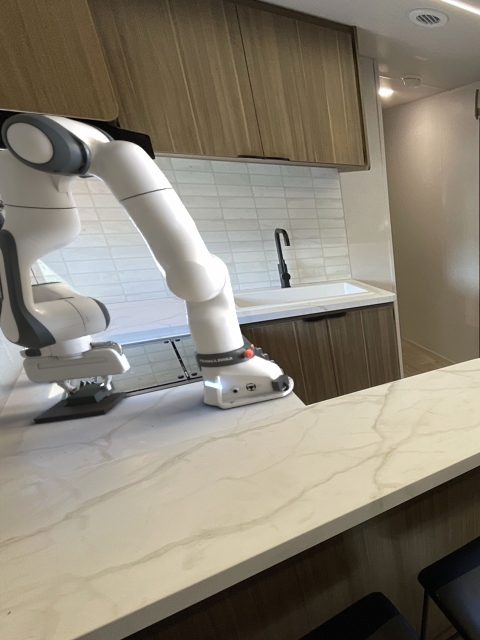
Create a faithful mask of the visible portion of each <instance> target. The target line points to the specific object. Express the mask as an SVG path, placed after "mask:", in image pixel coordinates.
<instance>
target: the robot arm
mask: <svg viewBox="0 0 480 640" xmlns="http://www.w3.org/2000/svg"><path fill="white" fill-rule="evenodd" d="M1 138H2V142H3V143H4V145H5V147H6V148H5V149H1V150H0V199H1V201H2V204H3V207H4V213H5V215H4V216H5V217H4V222H3V225H2V227H1V229H0V331H1V332H2V334H3V335H4V337H5V339H6V340H8V341H9V342H10V343H12V344H13V345H17V346H19V347H23V349H21V350H20V351H19V355H20V356H21V357H22V358H23V361H22V366H23V369H24V372H25V374H26V376H27V378H28V380H29V381H30V382H32V383H33V384H43V383H45V384H46V383H53V382H55V383H56V385H57V386H58V387H60V388H62V389H63V390H64V391H65V392H66V394H67V395H68V396H70V395H72V394H73V393H75V392H76V391H77V390H78V387H77V386H72V385H71V384H69V383H68V382H69V381H71V380H79V379H88V378H97V377H100V378H101V379H102V380H104V382H102V383H103V384H102V385H100V387H101V388H102V391H108V390H110V389H111V385H110V382H112V378H113V376H115V375H124V374H125V373H126V372H128V370H129V369H130V367H131V365H130V362H129V361H128V359H127V357H126V355H125V354H124V350H123V347H122V345H121V344H120V343H118V342H115V341H113V340H106V341H93V339H92V335H96V334H100V333H102V332H105V331H106V330H107V329H108V328H109V326H110V323H111V315H110V312H109V310H108V308H107V306H106V305H105V304H104V303H103V302H102V301H100V300H98V299H96V298H93V297H91V296H85V295H81V294H79V293H77V292H75V291H73V290H71V288H70V287H69V285H67V284H66V283H65V282H62V281H47V282H42V283H35V284H32V279H31V269H32V266H33V265H34V264H35V262H37V261H38V260H39V259H41V258H42V257H45V256H46V255H48V254H50V253H52V252H55V251H57V250H60V249H62V248H65V247H66V246H68V245H70V244H72V243H73V242H74V241H75V240H76V239H77V238H78V237H79V235H80V234H81V230H82V221H81V218H80V214H79V211H78V206H77V204H76V201H75V197H74V195H73V189H72V185H73V184H72V183H73V182H74V180H76V179H77V178H81V179H89V178H97V179H99V180H100V181H101V182H102V183H104V184H105V186H106V187H107V188H108V189H109V190H110V192H111V194H112V195H113V197H115V200H116V201H117V203H118V204H119V205H120V207H121V209H122V210H123V211H124V213H125V214H126V216H127V217H128V219H129V220H130V221H131V222H132V224H133V225H134V227H135V228H136V230H137V232H138V233H139V234H140V236H141V237H142V239H143V241H144V242H145V244H146V246H147V248H148V250H149V252H150V254H151V256H152V258H153V260H154V262H155V264H156V266H157V268H158V269H159V271H160V273H161V274H162V276H163V278H164V281H165V284H166V286H167V288H168V289H169V291H170V292H171V293H172V294H173V295H174V296H176V297H177V298H179V299H181V300H183V301H184V307H185V313H186V325H187V328H188V330H189V331H188V332H189V335H190V338H191V340H192V344H193V347H194V349H195V350H194V357H195V362H196V365H197V368H198V369H199V372H201V377H202V382H203V394H204V395H203V402H204V403H205V404H207V405H209V406H214V407H219V408H221V409H223V410H225V409H226V410H227V409H230V408H234V407H235V408H236V407H240V406H245V405H249V404H255V403H259V402H264V401H268V400H274V399H278V398H279V399H280V398H282V397H285V396H287V395H289V394H290V393H291V392H292V391H293V389H294V380H293V378H292V377H290V376H288V374H283V372H282V370H281V368H280V366H278V364H276V363H275V362H272V361H269V360H267V359H265V358H262V357H260V356H258V355H256V352H255V347H254V344H253V343H252V344H251V345H250V344H247V343H245V342H244V339H243V335H242V332H241V328H240V323H239V320H238V316H237V310H236V304H235V298H234V293H233V288H232V283H231V279H230V273H229V269H228V267H227V265H226V263H225V262H224V261H223V260H222V259H221V258H220V257H219V256H218V255H216V254H213V253H211V252H209V250H208V248H207V246H206V245H205V243H204V240H203V239H202V236H201V234H200V232H199V231H198V228H197V226H196V223H195V221H194V219H193V218H192V216H191V215H190V213H189V212H188V210H187V208H186V206H185V205H184V204H183V202H182V200H181V198H180V197H179V195H178V194H177V192H176V190H175V189H174V187H173V185H172V183H170V182H169V180H168V178H167V177H166V176H165V174H164V172H163V171H162V170H161V169H160V167H159V166H158V165H157V164H156V163H155V161H154V160H153V159H152V158H151V156H150V155H149V154H148V153H147V152H146V151H145V150H144V149H143V148H142V147H141V146H140V145H138V144H136V143H134V142H130V141H126V140H115V139H114V138H113V137H112V136H111V135H110V134H109V133H108V132H106V131H104V130H103V129H102V128H99V127H98V126H96V125H93V124H91V123H89V122H84V121H77V120H74V119H70V118H67V117H63V116H60V115H59V116H58V115H50V114H40V113H32V112H27V113H19V114H15V115H12V116H10V117H9V118H7V119H5V120H4V122H3V124H2V126H1Z"/></svg>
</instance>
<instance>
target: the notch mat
mask: <svg viewBox="0 0 480 640" xmlns="http://www.w3.org/2000/svg"><path fill="white" fill-rule="evenodd" d="M125 397H127V392H126V391H119V392H111V393H109V394H108V395H107V396H106V397H105V398H103V399H102V400H101V401H100V402H98V403H91V404H83V405H75V406H69V405H68V403H67V401H66V398H63V399H61V400H59V401H58V402H56V403H55V404H53V405H51V406H50V407H49V408H48V409H46V410H44V412H41V413H40V414H39V415H38V416H36V417H35V418H34V419H33V422H34V423H35V424H42V423H49V422H56V421H64V420H71V419H78V418H85V417H92V416H100V415H106V414H107V413H109V412H110V411H111V410H112V409H113V408H114V407H115V406H116V405H118V404H119V403H120V402H121V401H122V400H123V399H125Z"/></svg>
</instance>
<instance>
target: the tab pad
mask: <svg viewBox="0 0 480 640" xmlns="http://www.w3.org/2000/svg"><path fill="white" fill-rule="evenodd" d="M103 383H104V382H97V383H96V382H95V383H87V384H84V385H83V386H82V387H80V388H79V389H77V391H76V392H75V393H73V394H72V395H68V397H65V399H66V401H67V403H68V405H69V406H75V405H83V404H91V403H99V402H102V401H103V400H104V399H105V398H107V397H108V396H109V395H110V394H112V393H113V391H114V390H115V389H116V388H115V386H114V383H113V381H110V385H111V389H110V390H108V391H102V388H101V387H100V385H102V384H103Z"/></svg>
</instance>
